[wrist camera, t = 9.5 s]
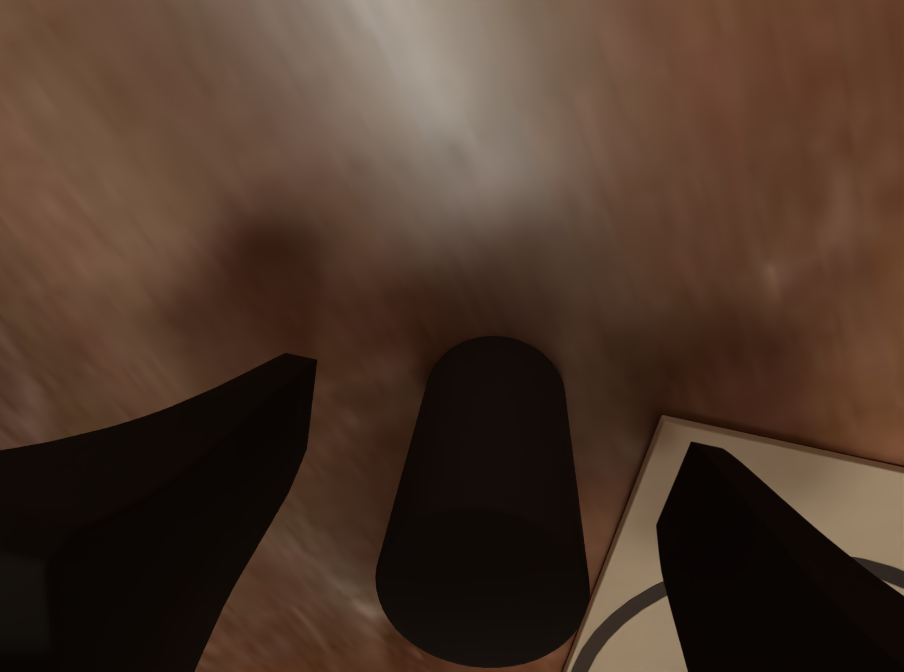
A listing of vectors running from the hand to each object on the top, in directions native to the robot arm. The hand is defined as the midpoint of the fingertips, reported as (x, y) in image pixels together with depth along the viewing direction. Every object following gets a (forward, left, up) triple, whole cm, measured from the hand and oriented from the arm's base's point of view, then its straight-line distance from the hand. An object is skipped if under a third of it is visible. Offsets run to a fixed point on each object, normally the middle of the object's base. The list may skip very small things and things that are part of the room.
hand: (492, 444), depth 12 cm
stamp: (0, 0, -2) cm, 2 cm away
